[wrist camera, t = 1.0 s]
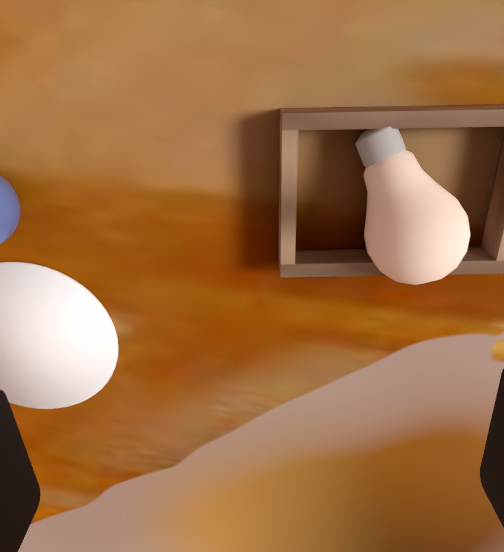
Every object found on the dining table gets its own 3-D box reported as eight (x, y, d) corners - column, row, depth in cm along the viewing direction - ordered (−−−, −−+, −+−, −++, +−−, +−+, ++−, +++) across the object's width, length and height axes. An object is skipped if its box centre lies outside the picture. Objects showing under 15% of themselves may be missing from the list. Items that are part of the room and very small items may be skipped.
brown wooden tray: (279, 108, 31) (282, 113, 28) (526, 103, 31) (548, 108, 28) (278, 262, 35) (280, 277, 33) (491, 258, 35) (507, 273, 33)
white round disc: (-83, 263, 35) (-85, 264, 35) (104, 259, 35) (103, 260, 35) (-31, 408, 41) (-32, 410, 41) (128, 405, 41) (128, 407, 41)
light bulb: (337, 135, 27) (408, 310, 28) (442, 87, 27) (508, 263, 28) (313, 152, 33) (372, 293, 35) (398, 114, 33) (453, 256, 35)
